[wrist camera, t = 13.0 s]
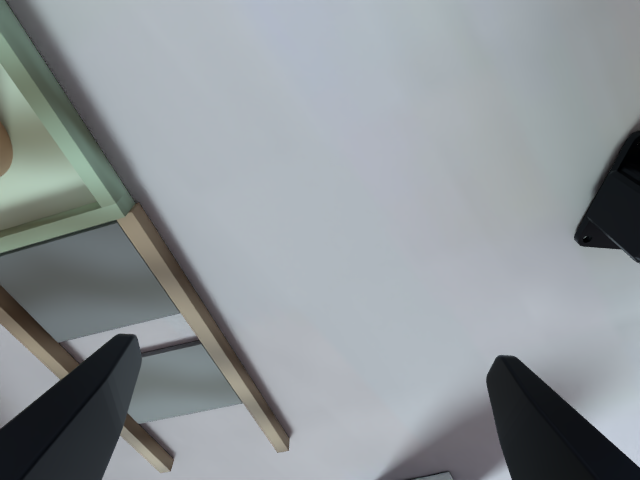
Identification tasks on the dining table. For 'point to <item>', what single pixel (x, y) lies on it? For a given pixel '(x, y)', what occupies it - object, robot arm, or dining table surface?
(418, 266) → the dining table surface
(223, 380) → the frame
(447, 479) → the skincare box
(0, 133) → the peach capsule
